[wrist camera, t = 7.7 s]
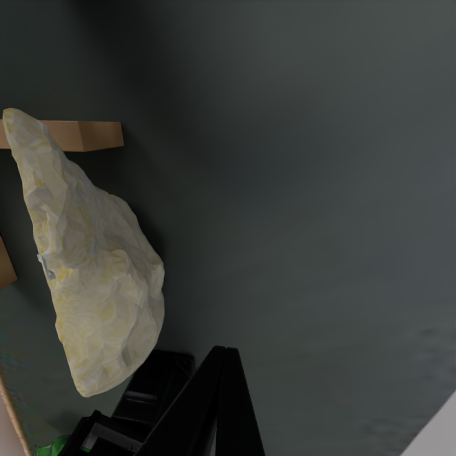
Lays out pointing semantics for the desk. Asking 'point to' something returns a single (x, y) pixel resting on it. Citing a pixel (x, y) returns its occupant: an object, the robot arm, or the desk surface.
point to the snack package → (54, 447)
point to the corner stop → (68, 141)
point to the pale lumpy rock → (88, 261)
